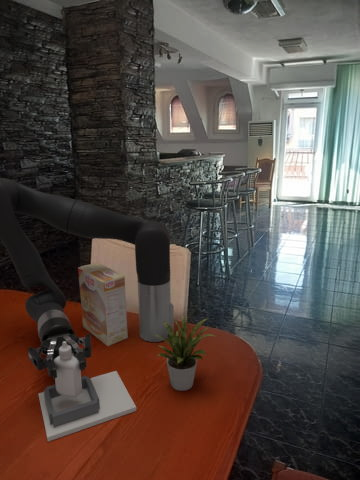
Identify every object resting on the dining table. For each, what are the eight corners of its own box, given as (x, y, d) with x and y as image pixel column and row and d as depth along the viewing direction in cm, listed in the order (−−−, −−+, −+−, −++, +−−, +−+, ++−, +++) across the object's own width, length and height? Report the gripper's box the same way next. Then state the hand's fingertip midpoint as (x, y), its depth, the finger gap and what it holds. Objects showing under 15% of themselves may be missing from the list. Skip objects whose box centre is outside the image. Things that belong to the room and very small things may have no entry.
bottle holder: (116, 374, 91) (115, 361, 90) (136, 410, 79) (135, 396, 78) (38, 397, 83) (37, 383, 82) (47, 441, 71) (45, 426, 70)
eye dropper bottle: (64, 403, 75) (58, 352, 71) (54, 388, 79) (49, 339, 76) (84, 394, 77) (80, 344, 74) (74, 380, 82) (69, 332, 78)
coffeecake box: (82, 326, 113) (76, 267, 108) (102, 319, 118) (98, 261, 112) (107, 347, 102) (102, 281, 97) (128, 338, 107) (125, 275, 101)
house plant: (223, 371, 91) (225, 312, 87) (209, 410, 79) (210, 342, 74) (169, 361, 96) (168, 303, 91) (148, 395, 83) (145, 330, 79)
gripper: (21, 323, 84) (29, 364, 70) (84, 310, 91) (103, 345, 76) (25, 352, 87) (33, 397, 72) (86, 337, 93) (105, 376, 78)
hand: (69, 370), depth 74 cm, fingers closed on eye dropper bottle, 4 cm apart
